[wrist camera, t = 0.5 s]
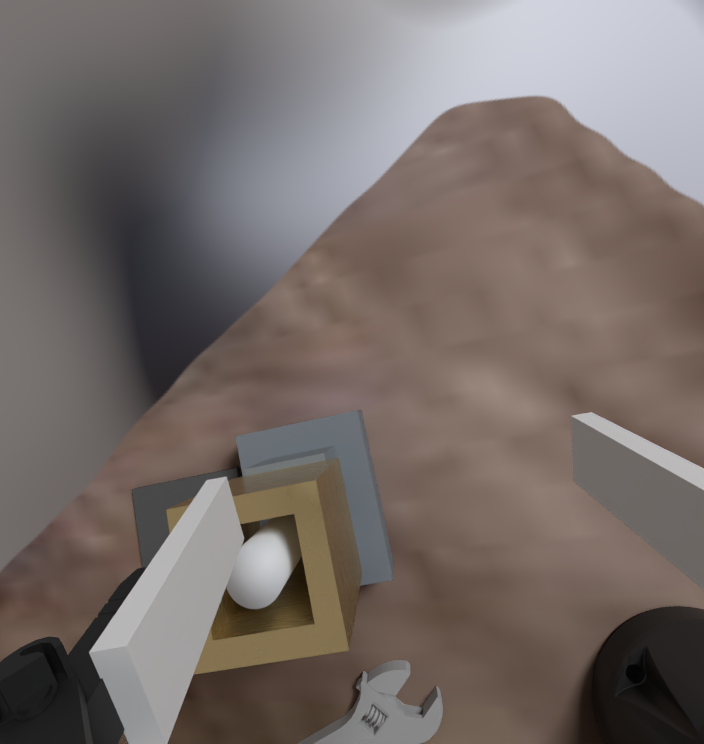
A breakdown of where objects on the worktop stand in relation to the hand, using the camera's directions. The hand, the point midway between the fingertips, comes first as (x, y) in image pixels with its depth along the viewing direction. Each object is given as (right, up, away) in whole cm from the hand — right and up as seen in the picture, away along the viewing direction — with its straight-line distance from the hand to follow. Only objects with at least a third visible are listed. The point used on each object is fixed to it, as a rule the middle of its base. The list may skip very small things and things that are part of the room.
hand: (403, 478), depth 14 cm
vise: (-5, -8, +21) cm, 23 cm away
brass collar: (-6, -7, +12) cm, 15 cm away
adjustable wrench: (-5, -29, +20) cm, 36 cm away
